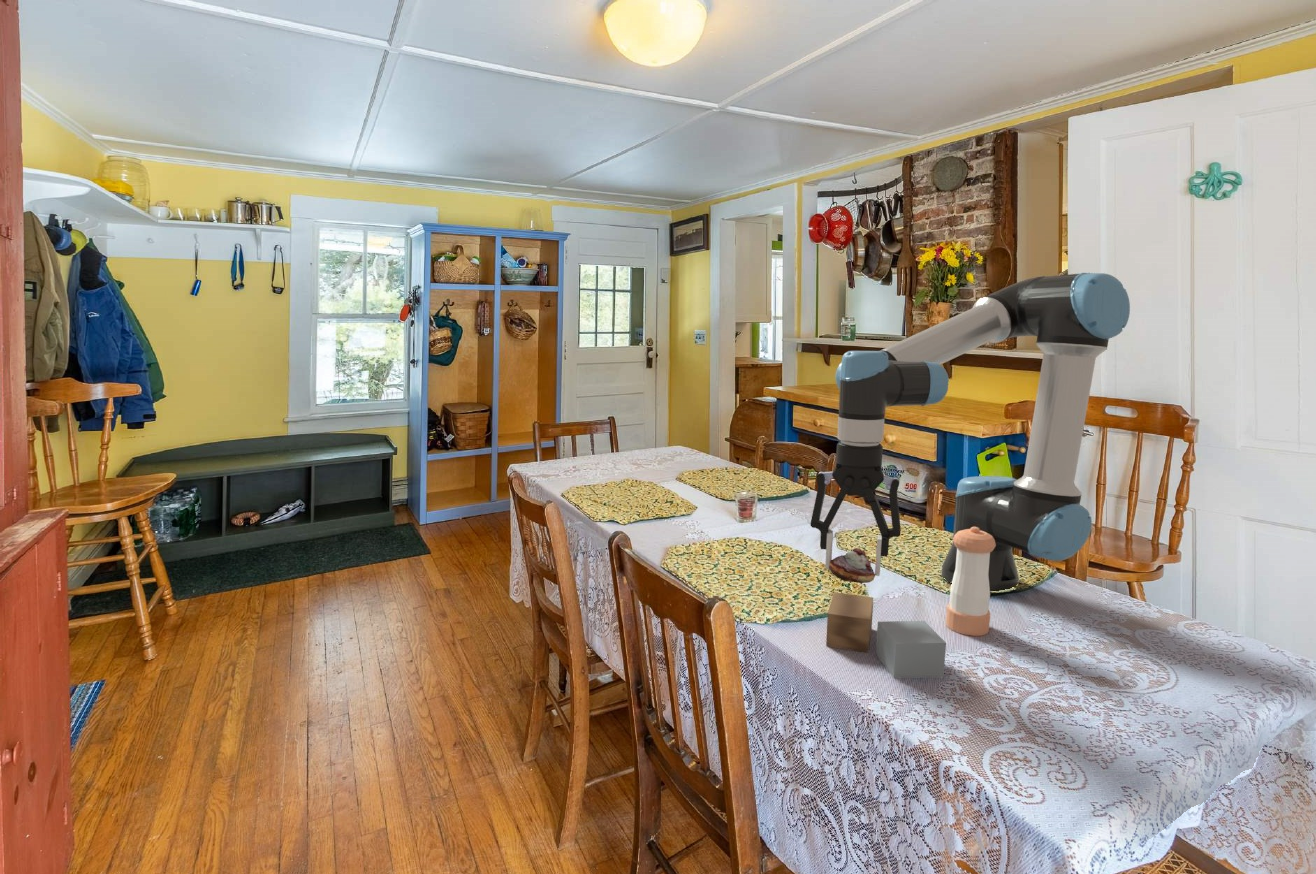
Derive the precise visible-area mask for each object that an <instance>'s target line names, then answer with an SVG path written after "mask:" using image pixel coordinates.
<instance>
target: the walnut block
mask: <svg viewBox="0 0 1316 874" xmlns="http://www.w3.org/2000/svg"><path fill="white" fill-rule="evenodd" d="M831 598H832V599H831V602H830V604H829V607H828V611H827V622H826V641H825V644H826V645H825V646H826V647H830V648H831V647H832V648H835V649H836V648H837V649H844V650H848V651H855V652H856V651H857V652H862V653H867V654H868V653H869V649H870V643H871V642H870V641H871V635H872V629H873V626H872V625H873V612H874V611H873V610H874V597H872V596H864V595H857V594H850V593H843V592H842V593H841V592H837V591H836V592H833V595H832V597H831Z"/></svg>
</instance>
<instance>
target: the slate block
mask: <svg viewBox="0 0 1316 874" xmlns="http://www.w3.org/2000/svg"><path fill="white" fill-rule="evenodd" d="M875 648H876V649H875V655H876V657H878V659H879V660H880V661H881V663H882V664H883V665H884V667H885V668H886V669H887V671H888V673H890V675H891V677H892V678H893V679H923V678H924V679H929V678H930V679H931V678H944V675H945V663H946V662H945V661H946V649H947V642H946V641H945V639H943V638H942V637H941V636H940V635H939V634H938V633H937V632H936V631H935V629H933V627H931V626H930V624H928V623H927V621H925V620H906V621H905V620H899V621H898V620H897V621H894V620H892V621H887V620H886V621H885V620H884V621H877V630H876V647H875Z"/></svg>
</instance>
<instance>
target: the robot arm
mask: <svg viewBox="0 0 1316 874" xmlns="http://www.w3.org/2000/svg"><path fill="white" fill-rule="evenodd" d="M1130 304H1131V301H1130V299H1129V295H1128V292H1127V289H1126V288H1124V285H1123V284H1122V282H1121V281H1120V280H1119V279H1118V278H1117V277H1116V276H1113V275H1111V274H1109V273H1105V272H1104V273H1099V272H1098V273H1097V272H1096V273H1095V272H1081V273H1071V274H1062V275H1051V276H1050V275H1049V276H1048V275H1047V276H1046V275H1045V276H1035V277H1031V278H1028V279H1023V280H1020V281H1018V282H1016V283H1013V284H1011V285H1008V286H1006V287H1003V288H1001V289H999V290H996V291H995V292H993V293H991V294H987V295H986V296H984V297H981V298H979V299H978V300H977V301H975V302H974V304H973V306H972V308H970V309H967V310H966V311H963V312H961V313H959V314H957V315H955V316H952V317H950V318H949V319H946V320H944V321H942V322H939V323H936V324H935V325H933V326H931V327H929V328H927V329H926V328H925V329H924V330H922V331H920V332H917V333H915V334H913V335H911V336H909V337H907V338H904V339H903V340H900V341H898V342H896V343H893V344H891V345H890V346H888V347H885V348H883V349H881V350H848V351H846V352H845V353H844V354H843V355H842V358H841V362H840V363H839V365H838V366H837V369H836V372H835V383H836V386H837V387H838V388H837V389H839V394H838V395H839V401H838V417H837V439H838V440H839V441H838V443H837V444H836V454H835V455H836V456H835V459H836V460H835V466H834V467H835V468H834V469H833V471H823V470H821V471H819V472H818V474H817V475H816V481H817V486H818V487H817V491H816V494H815V495H816V496H815V500H814V506H813V510H812V515H811V520H810V527H811V528H813V529H817V530H818V531H819V532H820V537H819V538H820V539H819V547H820V549H821V550H825V564H824V565H825V566H824V569H825V570H829V571H830V569H829V565H830V561H831V560H833V559H832V558H833V541H834V529H830V528H831V527H830V526H831V525H832V522H833V521H834V519H835V516H836V514H837V513H838V511H839V509H840V507H841V505H842V503H843V502H844V500H845V498H846V496H848V497H853V496H858V497H861V498H866V499H867V502H868V504H869V506H870V509H871V511H872V515H873V516H874V519H875V523H876V525H877V528H878V530H879V532H880V534H877V538H876V550H875V551H876V552H875V564H874V565H875V566H874V573H875V577H876V576H877V577H880V574H881V564H882V563H881V562H882V557H886V558H887V557H888V555H889V544H890V539H891V538H895V537H896V538H898V537H900V536H901V532H902V529H901V528H902V527H901V519H900V517H901V516H900V506H899V497H898V490H899V486H900V480H901V479H900V478H899V477H898V476H893V477H892V476H889V475H888V476H887V475H885V474H884V472H883V470H882V467H883V466H882V465H883V450H884V449H883V447H884V446H883V445H882V444H881V443H882V442H883V441H884V431H885V418H886V417H885V416H886V407H887V408H888V407H899V406H900V407H901V406H902V407H903V406H906V407H907V406H921V407H925V406H928V405H934V404H935V405H936V404H939V403H940V402H942V401H943V399H945V397H946V395H947V393H948V390H949V382H950V380H949V375H948V372H947V370H946V369H945V368H944V366H943V364H944V363H947V362H949V361H951V360H953V359H956V358H957V357H960V356H962V355H964V354H966V353H969V352H971V351H972V350H974V349H977V348H979V347H980V346H983V345H985V344H987V343H992V344H998V343H1001V342H1004V341H1006V340H1008V339H1010V338H1017V337H1036V343H1035V345H1036V346H1037V348H1038V349H1039V350H1040V351H1041V352H1042V361H1041V366H1040V374H1039V378H1038V384H1037V385H1038V386H1037V391H1036V398H1035V404H1034V411H1033V416H1032V421H1031V428H1030V434H1029V440H1028V447H1027V453H1026V458H1025V464H1024V471H1023V475H1022V476H1021V477H1020V478H1018V479H1016V478H1014V477H1009V476H996V475H995V476H993V475H991V476H990V475H987V476H986V475H985V476H981V475H979V476H968V477H963V478H961V479H960V480H959V481H958V483H957V489H956V493H955V495H954V496H955V498H954V499H955V502H954V504H955V505H954V516H953V517H954V520H953V534H952V535H953V537H952V539H953V538H954V535H955V534H956V533H957V532H958V531H961V530H965V529H971V527H978V528H979V529H980V530H981V531H984V532H986V533H988V534H990V535H992V536H993V538H994V540H995V544H996V546H995V548H994V550H993V551H992V552H990V559H989V572H988V577H989V588H990V591H999V590H1005V589H1010V588H1012V587H1015V586H1016V585H1017V584H1018V585H1019V576H1020V575H1019V572H1018V568H1017V564H1016V561H1015V558H1014V554H1013V548H1015V549H1016V550H1019V551H1022V552H1025V553H1027V554H1030V555H1031V556H1033V557H1036V558H1041V559H1045V560H1047V561H1052V562H1060V561H1065V560H1067V559H1070V558H1071V557H1073V556H1075V554H1077V553H1078V552H1079V551H1080V550H1081V549H1082V548H1083V547H1084V545H1085V544H1086V543H1087V541H1088V538H1089V537H1090V534H1091V531H1092V524H1093V523H1092V522H1093V521H1092V517H1091V516H1090V512H1089V510H1088V509H1086V508H1085V507H1084V506H1083V505H1081V499H1082V491H1081V490H1080V489H1079V488H1078V487H1077V485H1076V484H1075V481H1076V473H1077V469H1078V468H1077V467H1078V461H1079V456H1080V451H1081V444H1082V440H1083V435H1084V434H1083V433H1084V428H1085V422H1086V416H1087V411H1088V405H1089V399H1090V393H1091V387H1092V381H1093V375H1094V371H1095V370H1094V369H1095V364H1096V359H1097V357H1099V355H1101V354H1102V353H1103V352H1106V351H1107V350H1108V345H1109V340H1110V339H1113V338H1114V337H1117V336H1118V335H1120V334H1121V332H1123V329H1125V327H1127V325H1128V321H1129V317H1130V315H1131V314H1130V311H1131V305H1130ZM831 479H833V480H834V481H835V483H836V484H837V485H838V488H839V491H838V492H837V494H836V497H835V499H834V501H833V503H832V505H831V507H830V509H829V511H828V513H827V515H826V516H825V519H824V521H822V520H820V519H821V515H822V510H823V505H824V502H825V501H824V500H825V496H826V491H827V486H828V485H829V484H830V483H831ZM882 483H884V485H885V489H886V490H888V492H889V493H888V497H889V505H890V506H889V507H890V517H891V527H889V526H888V523H887V521H886V518H885V515H884V514H883V510H882V508H881V507H882V506H881V505H880V502H879V499H878V496H877V492H876V490H877V488H878V487H879V486H880V485H881V484H882ZM956 556H957V547H955V545H954V542H953V541H952V543H951V546H950V548H949V550H948V552H947V554H946V557H945V559H944V561H943V563H942V567H941V577H942V576H943V577H944V578H945V579H946V580H947V581H948V582H951V583H952V580H953V576H954V572H955V567H956ZM947 581H946V582H947ZM948 582H947V583H948Z"/></svg>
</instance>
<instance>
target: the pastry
mask: <svg viewBox="0 0 1316 874" xmlns="http://www.w3.org/2000/svg"><path fill="white" fill-rule="evenodd" d="M829 569H830V570H829ZM829 569H828V570H829V571H830V572H831V574H832V575H834V577H836V578H837V579H840V580H841V581H843V582H846V583H847V582H848V583H849V582H850V583H856V584H866V583H867V584H868V583H871V582H873V581H874V579H875V577H876V576H875V570H874V569H873V567H872V561H871V560H869V556H867V555H866V551H865V550H863V549H861V548H859V547H855V548H853V549H852V550H851V551H848V552H846V553H845V555H842V554H841V555H839V556H836V557H834V558H833V559H832V560H831V561H830V565H829Z"/></svg>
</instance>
